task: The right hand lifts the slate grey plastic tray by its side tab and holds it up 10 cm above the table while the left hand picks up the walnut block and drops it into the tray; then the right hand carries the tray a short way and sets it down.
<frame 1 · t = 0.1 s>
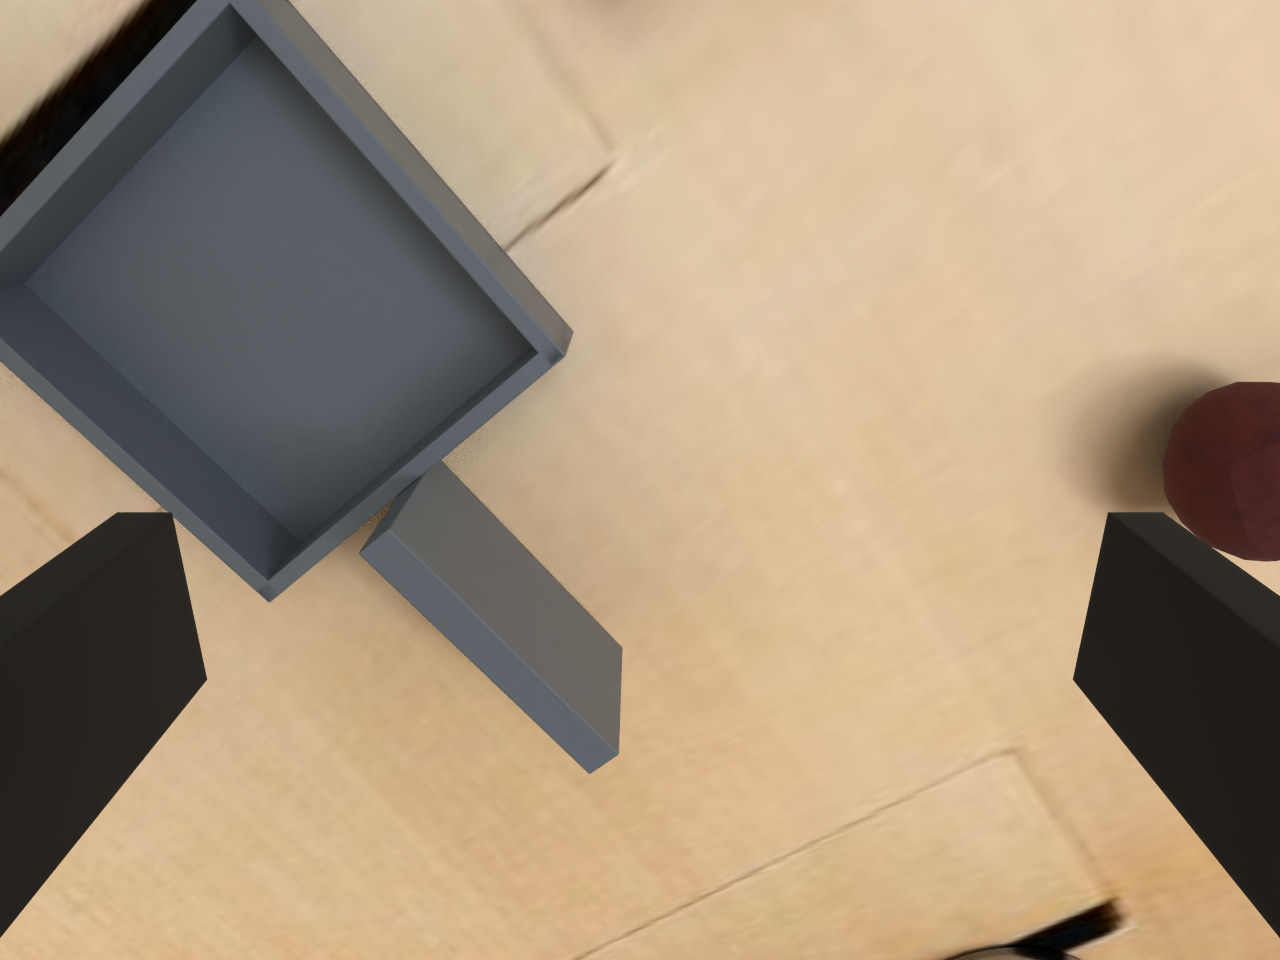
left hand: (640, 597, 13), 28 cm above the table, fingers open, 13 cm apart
tray: (293, 305, 39), on the table
potato: (1207, 440, 41), on the table
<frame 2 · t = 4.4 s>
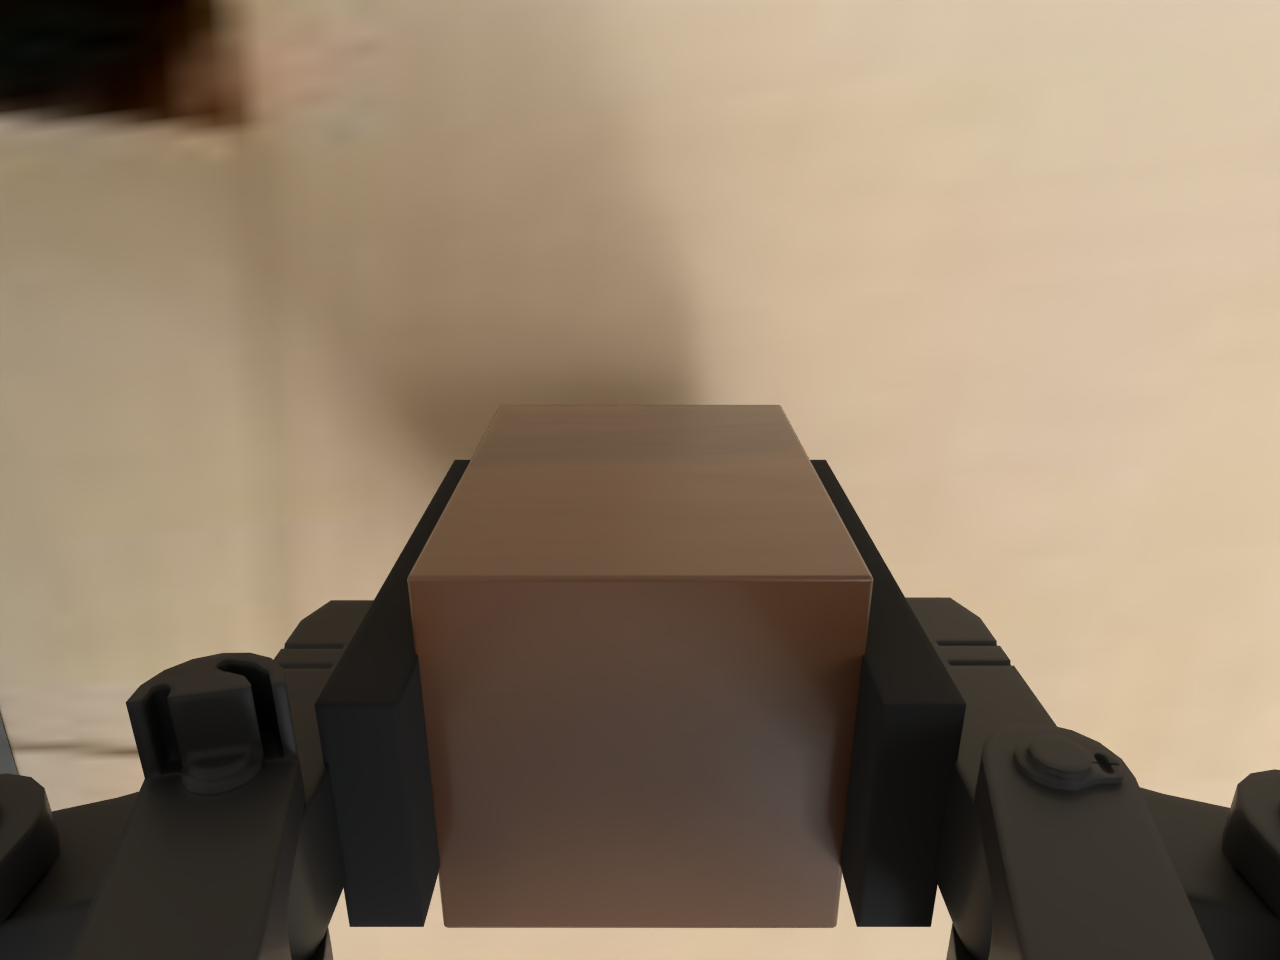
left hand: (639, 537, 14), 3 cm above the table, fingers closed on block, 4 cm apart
block: (640, 532, 15), point 3 cm above the table, touching left hand
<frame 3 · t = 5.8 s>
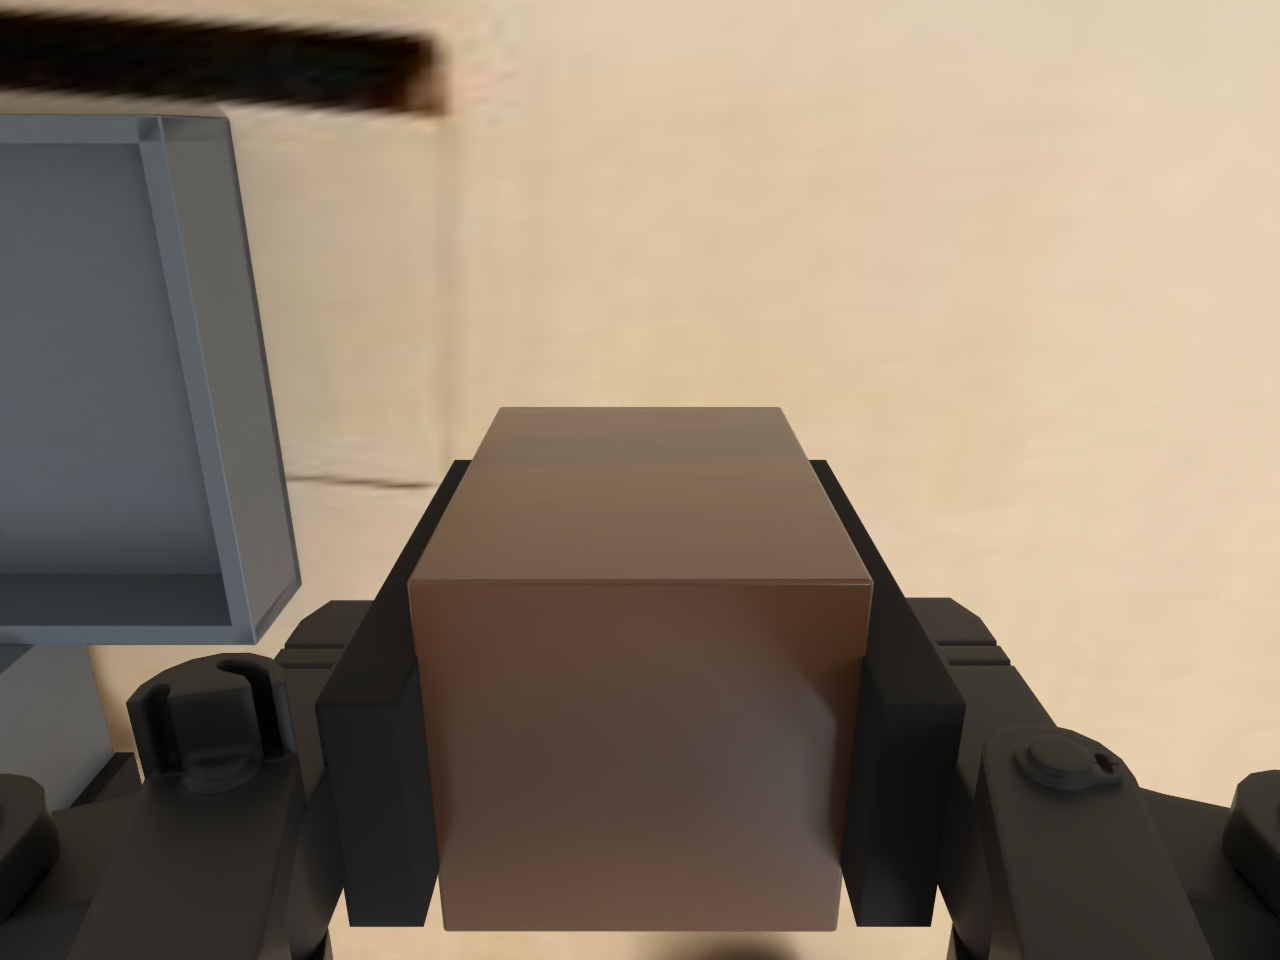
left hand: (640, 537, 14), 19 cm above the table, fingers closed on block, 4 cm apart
tray: (32, 374, 33), on the table, touching right hand
block: (640, 534, 15), point 18 cm above the table, touching left hand
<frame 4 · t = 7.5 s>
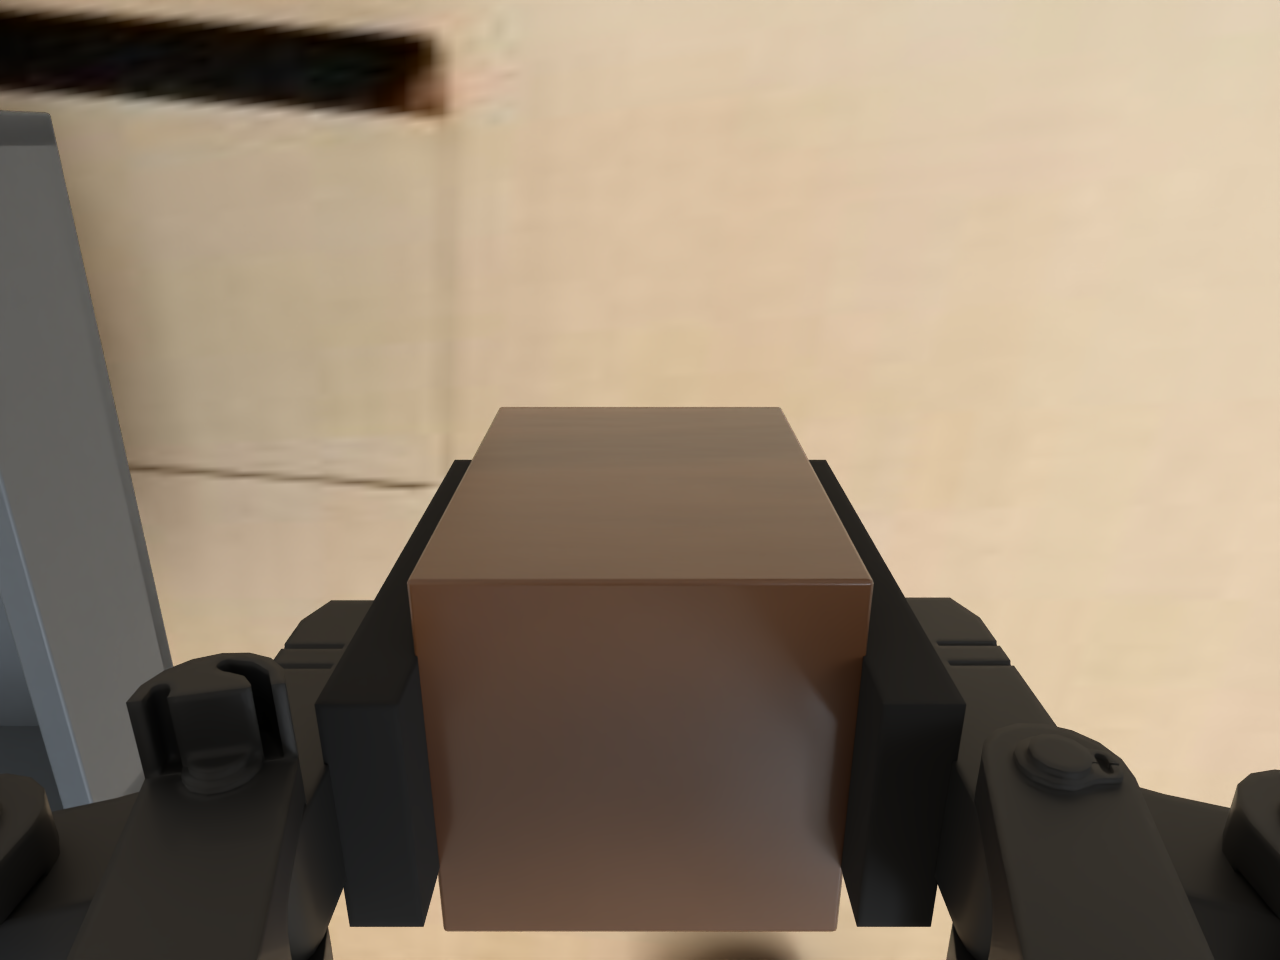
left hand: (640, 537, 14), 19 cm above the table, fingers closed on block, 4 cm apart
block: (640, 534, 15), point 18 cm above the table, touching left hand
when the left hand's fingers open (15 cm above the table, at t = 10.8 s): block drops 4 cm, resting on tray.
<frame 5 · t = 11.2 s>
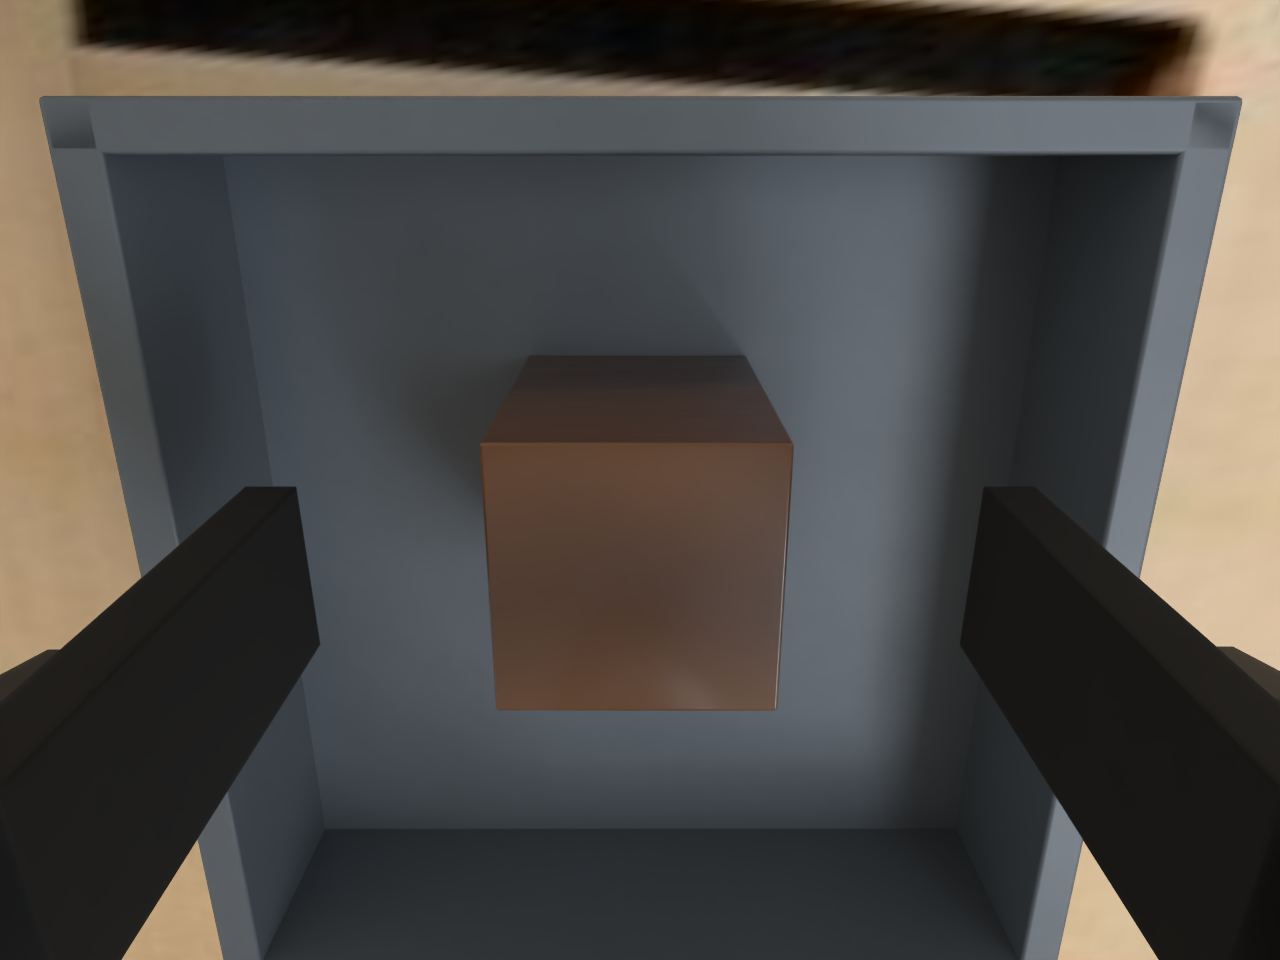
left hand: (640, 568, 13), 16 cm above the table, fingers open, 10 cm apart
tray: (640, 528, 20), point 10 cm above the table, touching block, right hand
block: (637, 458, 19), point 10 cm above the table, touching tray
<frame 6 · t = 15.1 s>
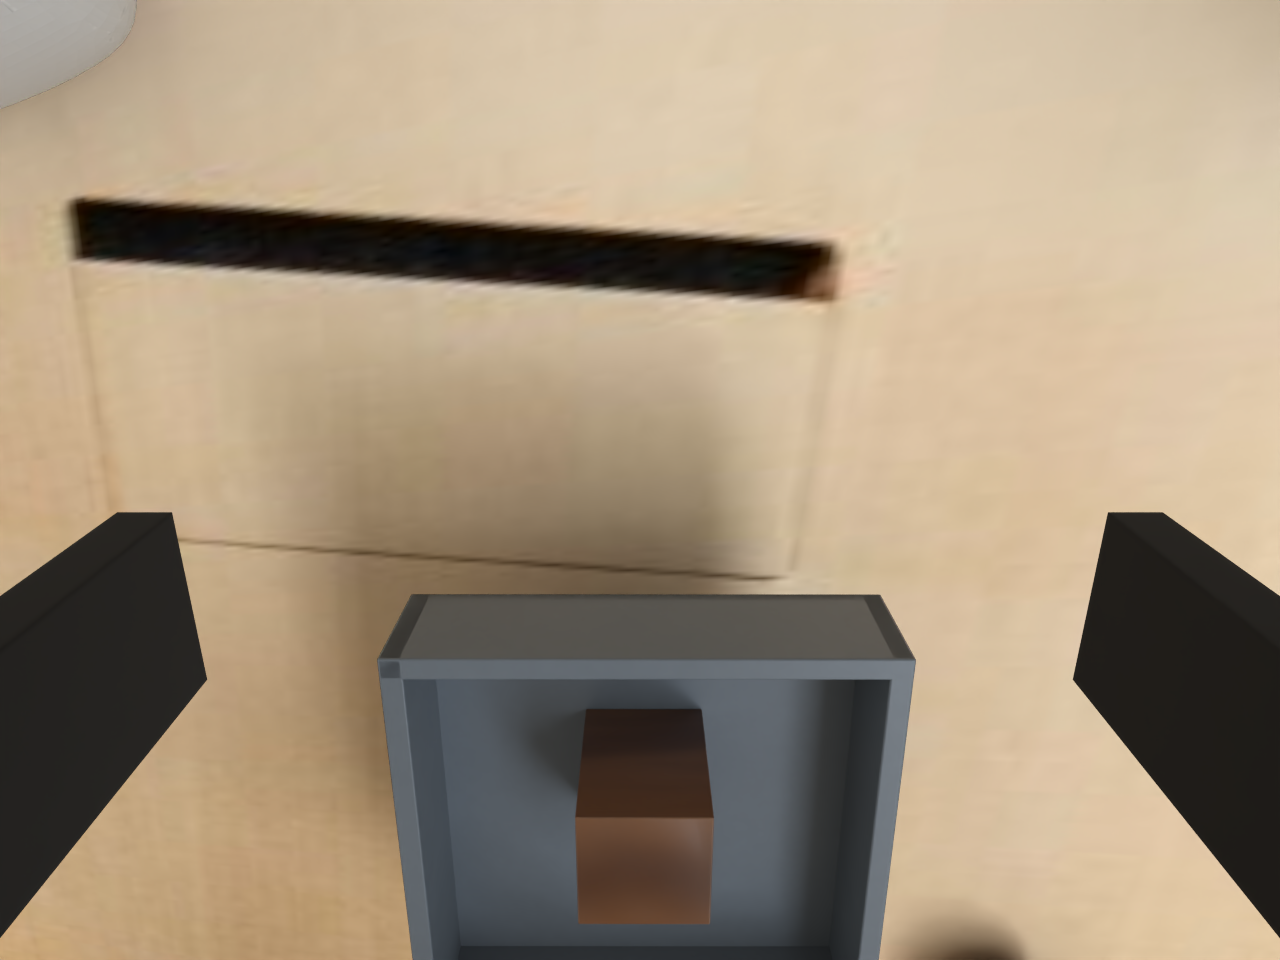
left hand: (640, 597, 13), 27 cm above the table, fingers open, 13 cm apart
tray: (645, 786, 36), point 9 cm above the table, touching block, right hand
block: (643, 756, 35), point 9 cm above the table, touching tray
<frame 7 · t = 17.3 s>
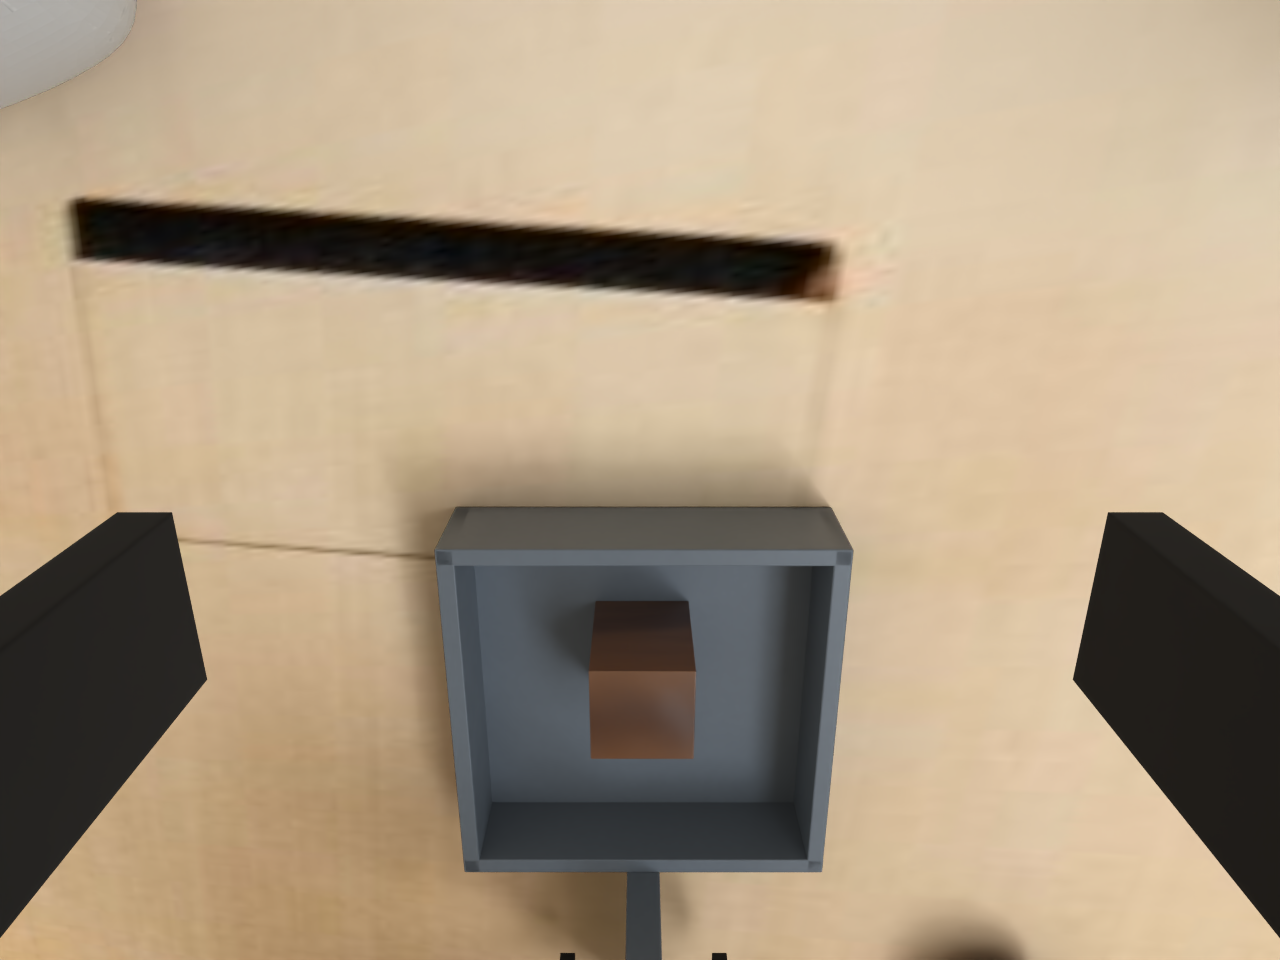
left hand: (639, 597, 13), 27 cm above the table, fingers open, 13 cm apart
tray: (643, 667, 44), on the table, touching block
block: (641, 641, 43), point 1 cm above the table, touching tray
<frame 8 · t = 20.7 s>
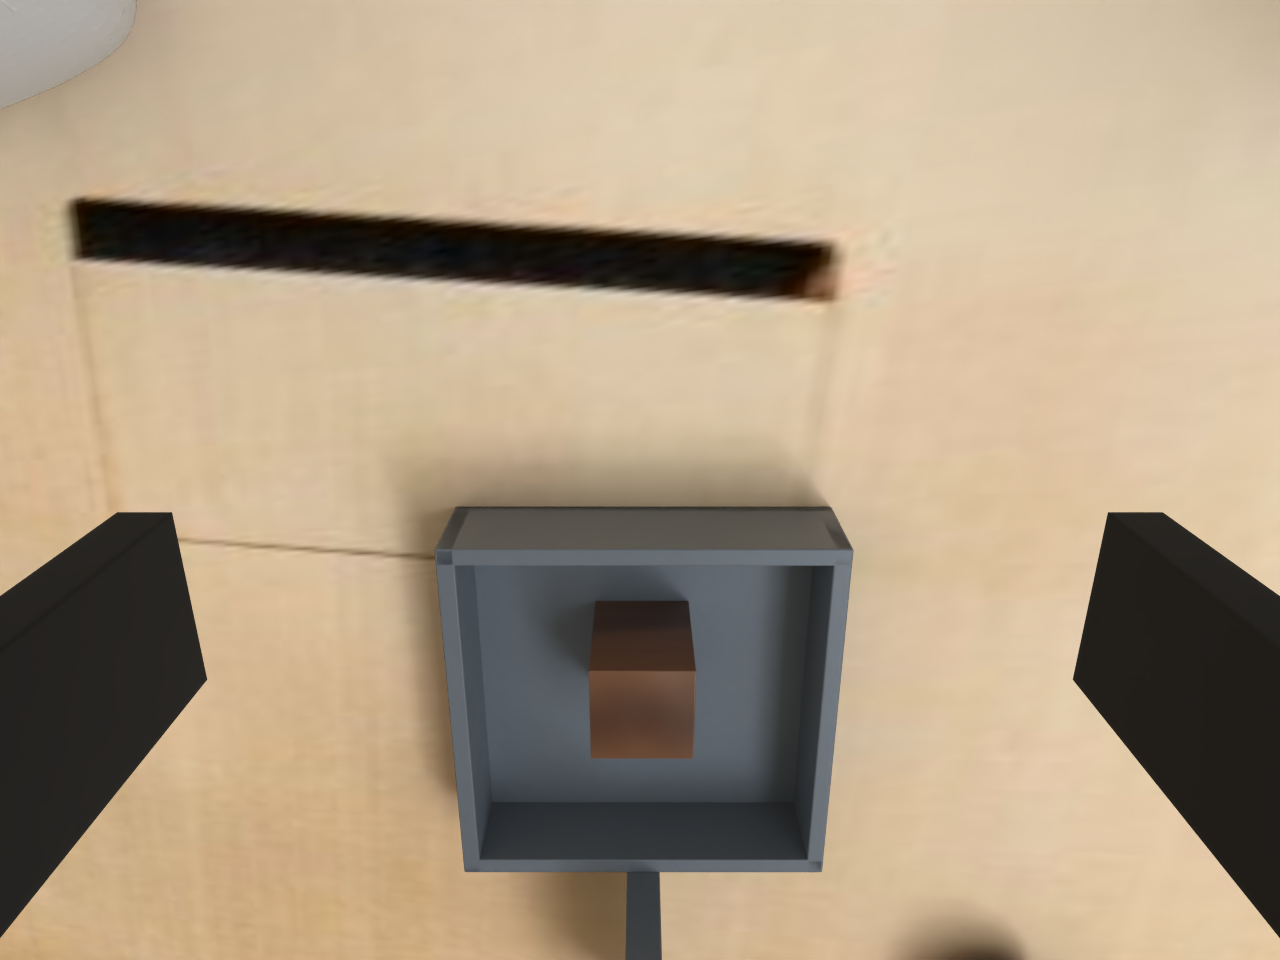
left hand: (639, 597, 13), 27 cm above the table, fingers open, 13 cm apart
tray: (643, 667, 44), on the table, touching block
block: (641, 641, 43), point 1 cm above the table, touching tray
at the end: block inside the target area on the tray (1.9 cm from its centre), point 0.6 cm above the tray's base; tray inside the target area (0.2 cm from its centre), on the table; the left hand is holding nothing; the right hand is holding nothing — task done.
